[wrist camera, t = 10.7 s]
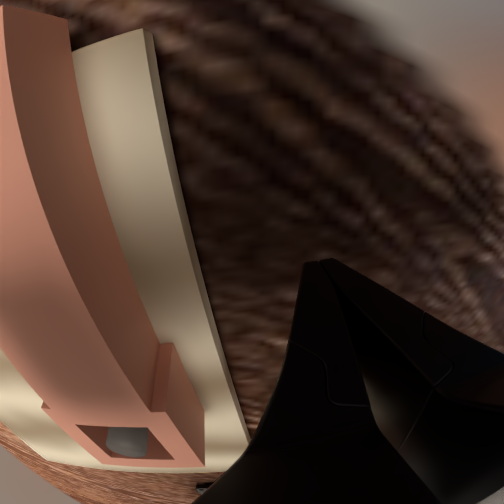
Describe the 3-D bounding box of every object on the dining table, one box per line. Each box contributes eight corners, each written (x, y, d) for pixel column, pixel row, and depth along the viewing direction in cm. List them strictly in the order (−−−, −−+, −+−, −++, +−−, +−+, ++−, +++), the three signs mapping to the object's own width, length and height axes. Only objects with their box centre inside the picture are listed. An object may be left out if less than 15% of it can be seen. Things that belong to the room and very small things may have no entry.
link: (204, 411, 14) (205, 466, 11) (111, 414, 14) (102, 463, 11) (83, 12, 5) (23, -8, 3) (-42, 83, 5) (-107, 101, 3)
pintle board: (255, 454, 19) (262, 507, 16) (49, 449, 19) (40, 490, 15) (152, 34, 7) (95, 2, 3) (-124, 192, 7) (-170, 230, 3)
